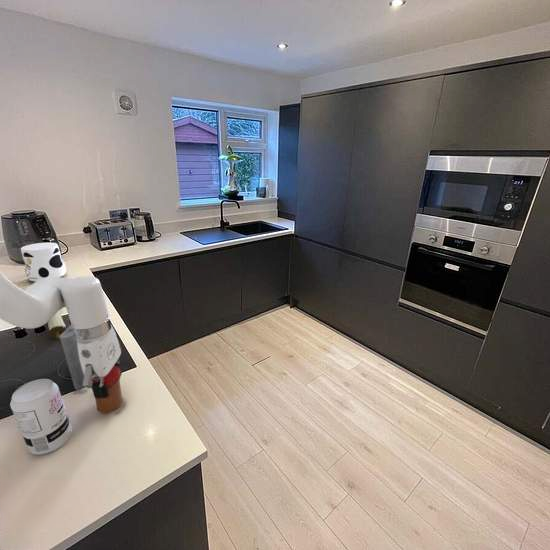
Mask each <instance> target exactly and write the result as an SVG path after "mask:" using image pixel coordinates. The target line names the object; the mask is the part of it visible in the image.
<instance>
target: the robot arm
mask: <svg viewBox="0 0 550 550" xmlns="http://www.w3.org/2000/svg"><path fill="white" fill-rule="evenodd" d="M107 307H108V306H107V304H106V299H105V296H104V292H103V287H102V284H101V281H100V280H99V278H97V277H95V276H90V275H89V276H88V275H86V276H85V275H84V276H78V277H74V278H73V277H45V278H42V279H39V280H37V281H36V282H33V283H32V284H30V285H29V286H28V287H26V288H25V289H23V288H21V287H19V286H18V285H16V284H15V283H13V282H12V281H10V280H9V279H8V278H7V277H6V276H5V275H4V274H3V273H2V271H1V270H0V320H2V321H3V322H5V323H8V324H9V325H11V326H15V327H18V328H21V329H37V328H40V327H42V326H44V325H46V324H48V321H50V319H51V318H52V317H53V316H54V315H55V314H56V313H57V312H58V311H59V310H60V311H61V310H63V309H64V308H65V309H66V312H67V315H68V319H69V318H70V320H69V322H70V325H72V328H73V331H74V335H75V338H76V340H77V347H78V354H79V359H80V363H81V367H82V370H83V373H84V375H85V376H84V381H83V386H84V387H85V388H89V389H91V390H92V394H93V397H94V399H95V398H108V396H109V393H108V390H107V386H106V384H104V376H106V375H107V374H108V373H109V372H110V370H111V369H112V367H113V366H114V365H115V366H118V367H119V369H120V372H121V376H122V375H123V374H122V371H121V366H120V357H121V354H122V350H121V345H120V342H119V339H118V336H117V333H116V331H115V328H114V327H113V325H112V324H111V320H110V315H109V311H108V308H107ZM94 372H95V373H94ZM94 377H99V382H94Z"/></svg>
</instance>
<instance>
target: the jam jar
mask: <svg viewBox="0 0 550 550" xmlns="http://www.w3.org/2000/svg"><path fill="white" fill-rule="evenodd" d="M107 390H108V393H109V396H108V398H95V397H94V400H95V405H96V410H97V411H98V413H100V414H110V413H113V412H115V411H117V410H118V409H119V408H120V407H121V406H122V404H123V402H124V401H123V395H122V388H121V378H120V379H119V381H118V382H117V383H115V384H114V385H112V386H110V387H107Z"/></svg>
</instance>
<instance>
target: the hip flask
mask: <svg viewBox="0 0 550 550" xmlns="http://www.w3.org/2000/svg"><path fill="white" fill-rule="evenodd" d="M68 319H69V321H70V318H69V317H68ZM65 329H66V330H65V331H64V332H63V333H62V334H61V335H60V336H59V337H60V339H59V340H60V343H61V346H62V350H63V353H64V356H65V357H64V358H65V360H66V364H67V366H68V370H69V373H70V377H71V381H72V384H73V387H74V389H75V390H76V391H80V390H81V391H82V390H83V389H85V388H86V387H84V386H83V381H84V376H85V375H84V373H83V370H82V367H81V363H80V359H79V354H78V347H77V340H76V338H75V335H74V331H73V328H72V325H71V324H69V326H68V327H66V328H65Z"/></svg>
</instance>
